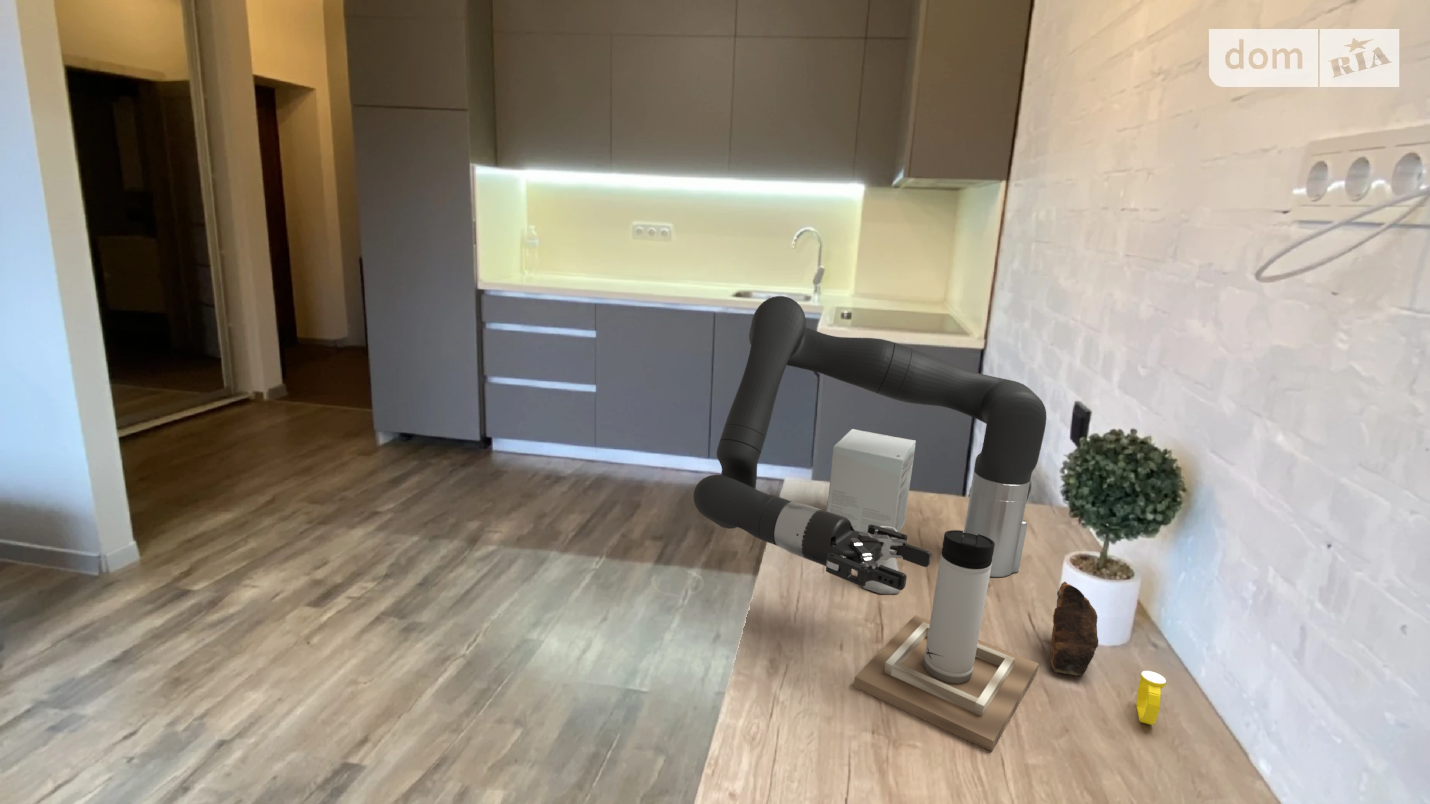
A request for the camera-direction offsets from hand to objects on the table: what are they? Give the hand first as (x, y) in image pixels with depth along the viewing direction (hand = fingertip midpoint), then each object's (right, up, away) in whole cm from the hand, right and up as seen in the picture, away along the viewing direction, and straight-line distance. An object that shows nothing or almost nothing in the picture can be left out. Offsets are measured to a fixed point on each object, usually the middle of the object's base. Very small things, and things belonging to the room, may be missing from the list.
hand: (917, 571), depth 100 cm
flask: (0, -8, +24) cm, 26 cm away
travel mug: (+4, -14, 0) cm, 14 cm away
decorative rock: (+23, -14, +7) cm, 28 cm away
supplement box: (+2, -2, +46) cm, 46 cm away
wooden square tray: (+4, -15, 0) cm, 15 cm away
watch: (+28, -18, -5) cm, 33 cm away
